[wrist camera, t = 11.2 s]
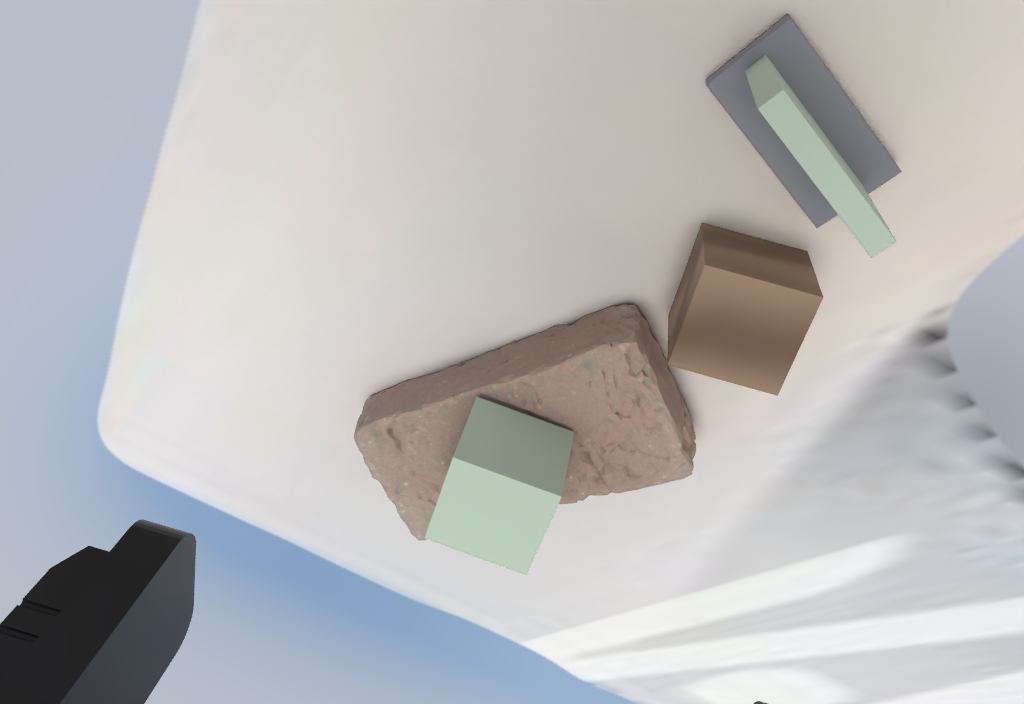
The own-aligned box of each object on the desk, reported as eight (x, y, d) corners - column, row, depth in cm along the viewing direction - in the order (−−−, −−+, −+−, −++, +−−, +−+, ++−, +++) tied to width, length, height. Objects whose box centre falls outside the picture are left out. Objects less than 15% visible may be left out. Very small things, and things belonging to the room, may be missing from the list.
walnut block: (702, 222, 39) (705, 264, 35) (807, 250, 39) (822, 297, 35) (668, 314, 42) (667, 364, 38) (767, 341, 42) (777, 395, 38)
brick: (433, 502, 51) (413, 557, 47) (363, 390, 48) (334, 438, 44) (700, 423, 45) (703, 477, 41) (640, 289, 42) (637, 334, 38)
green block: (476, 396, 41) (452, 457, 37) (574, 431, 41) (561, 496, 37) (449, 473, 44) (424, 538, 39) (541, 506, 44) (526, 575, 39)
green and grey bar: (787, 13, 35) (814, 47, 28) (895, 163, 37) (943, 227, 30) (705, 79, 36) (712, 126, 30) (813, 218, 38) (841, 290, 32)
